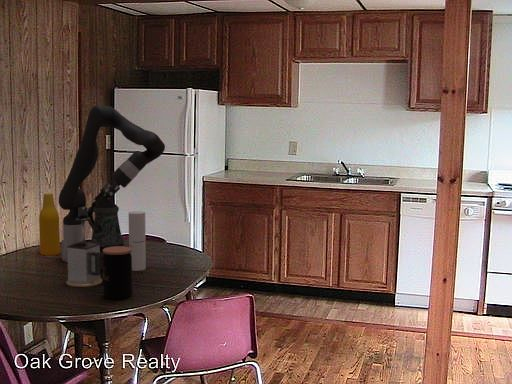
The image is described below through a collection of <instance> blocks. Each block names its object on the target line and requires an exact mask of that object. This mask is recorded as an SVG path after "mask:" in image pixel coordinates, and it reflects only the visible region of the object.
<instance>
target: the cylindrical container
mask: <svg viewBox="0 0 512 384" xmlns="http://www.w3.org/2000/svg"><path fill="white" fill-rule="evenodd" d="M146 243H147V242H146V212H145V211H140V210H139V211H136V210H135V211H129V212H128V247H129V248H131V249H132V251H131V253H130V254H131V256H132V272H133V271H134V272H135V271H137V272H139V271H145V270H146V269H147V268H146V267H147V262H146V260H147V258H146V257H147V256H146V249H147V248H146V247H147V246H146Z"/></svg>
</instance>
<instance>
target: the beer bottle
mask: <svg viewBox="0 0 512 384" xmlns="http://www.w3.org/2000/svg"><path fill="white" fill-rule="evenodd" d="M42 200H43V201H42V202H43V203H42V208H41V210H40V212H39V216H38V223H39V226H38V227H39V231H38V232H39V254H40V255H41V256H44V255H45V257H52V256H57V255H60V253H61V240H60V239H61V237H60V214H59V212H58V210H57V207H56V206H55V197H54V193H50V192H48V193H47V192H46V193H43V199H42Z"/></svg>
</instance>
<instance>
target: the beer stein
mask: <svg viewBox="0 0 512 384" xmlns="http://www.w3.org/2000/svg"><path fill="white" fill-rule="evenodd" d="M119 211H120V207H119V206H118V205H117V204H116V203H114V202H113V201H112V200H111V199H107V200H106V202H105V203H104V204H103V205H102V206H100V205H99V204H98V203H97V202H96V201H95V200H94V201H92V203H91V206H89V208H88V207H87V217H89V218H90V220H88V221H87V222H88V225H89V227H90V228H91V229H92V235H91V240H90V242H89V243H96V244H100V253H103V249H104V248H107V247H114V246H124V245H125V241H124V239H123V236H122V231H121V228H120V227H121V225H120V220H119V214H118V213H119ZM93 214H94V215H93ZM93 216H94V217H93Z"/></svg>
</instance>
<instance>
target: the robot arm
mask: <svg viewBox="0 0 512 384" xmlns="http://www.w3.org/2000/svg"><path fill="white" fill-rule="evenodd" d="M101 128H112V129H116V130H118V131H120V133H121V134H122V136H123V137H124V138H125V139H126V140H128V141H130V142H132V143H133V144H135V145H138V146H143V147H144V148H145V150H144V151H142V152H141V151H140V150H136V151H134V152H133V153H132V154H131V155H130V156H129V157H128V158H127V159H126V160H125V161H123V162H122V163H121V164H120V165H119V166H118V167H117V169H115V170H114V172H112V173H111V174H110V175H111V178H112V179H113V180H111V179H110V180H109V181H108V182H107V183H106V184H105V185H104V186H103V187H102V188H100V191H99V193H98V194H97V195H96V196H95V197H94V201H96V202H97V203H98V204H99V205H100V206H102V205H103V204H104V203H105V202H106V200H107V199H110V200H111V199H113V197H114V196H115V195H116V194H117V193H118V192H119V190H120V189H121V187H122V188H124V189H125V188H126V187H128V185H129V184H130V183H131V182H132V181H133V180H134V179H135V178H136V177H137V176H138V175H139V173H140V172H141V171H142V170H143V169H144V168H145V166H147V165H148V164H150V163H151V162H153V161H154V160H156V159H158V158H160V157H161V156H162V155H163V154H164V152H165V149H166V144H165V143H164V142H163V141H162V139H161V138H160V137H159V135H158V134H156V133H155V132H153V131H151V130H148V129H145V128H143V127H141V126H139V125H137V124H135V123H134V122H131V121H130V120H129V119H127V118H126V117H125V116H123V115H122V114H121V113H120V112H119V111H118V110H117V109H115V108H114V107H112V106H110V105H101V104H97V105H93V106H92V107H91V109H89V112H88V116H87V119H86V123H85V128H84V132H83V134H82V138H81V140H80V144H79V147H78V149H77V151H76V154H75V157H74V161H73V163H72V166H71V168H70V171H69V173H68V176H67V178H66V180H65V182H64V184H63V187H62V188H61V190H60V193H59V195H58V205H59V207H60V208H61V210H65V211H69V212H68V213H67V214H66V215H65V216H64V217H63V219H62V230H63V231H62V232H63V234H62V235H63V237H62V238H63V239H62V240H61V259H62V261H63V262H65V263H68V255H67V246H69V245H73V244H76V243H80V242H82V221H77V220H76V218H78V217H79V211H78V208H79V207H87V196H86V194H85V192H84V190H83V189H82V188H80V187H81V184H83V182H84V181H85V180H86V179H87V178H88V177H89V176H90V174H91V173H92V172H93V171H94V169H95V167H96V164H97V162H98V159H99V152H100V151H99V147H98V146H99V145H98V141H97V138H98V134H99V132H100V129H101ZM120 186H121V187H120Z"/></svg>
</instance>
